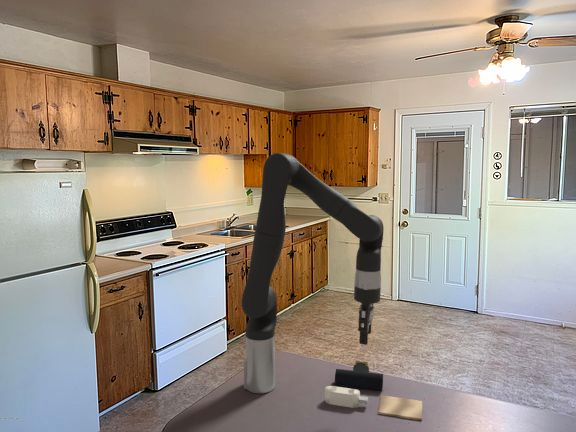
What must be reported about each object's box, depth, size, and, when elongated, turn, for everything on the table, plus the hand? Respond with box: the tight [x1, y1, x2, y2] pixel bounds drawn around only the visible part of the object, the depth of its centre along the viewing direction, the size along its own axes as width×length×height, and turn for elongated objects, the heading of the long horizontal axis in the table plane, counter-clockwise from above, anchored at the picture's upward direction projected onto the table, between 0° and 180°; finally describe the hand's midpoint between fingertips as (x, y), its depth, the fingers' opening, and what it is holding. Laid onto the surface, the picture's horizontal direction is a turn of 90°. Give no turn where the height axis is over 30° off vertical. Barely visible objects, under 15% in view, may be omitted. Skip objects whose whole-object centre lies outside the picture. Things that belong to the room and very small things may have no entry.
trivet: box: [377, 395, 423, 422], centre depth 131 cm, size 12×10×1 cm
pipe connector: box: [334, 360, 384, 391], centre depth 148 cm, size 12×5×15 cm
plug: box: [324, 385, 369, 409], centre depth 134 cm, size 13×4×4 cm, turn 73°
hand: (365, 338), depth 131 cm, fingers open, 8 cm apart
